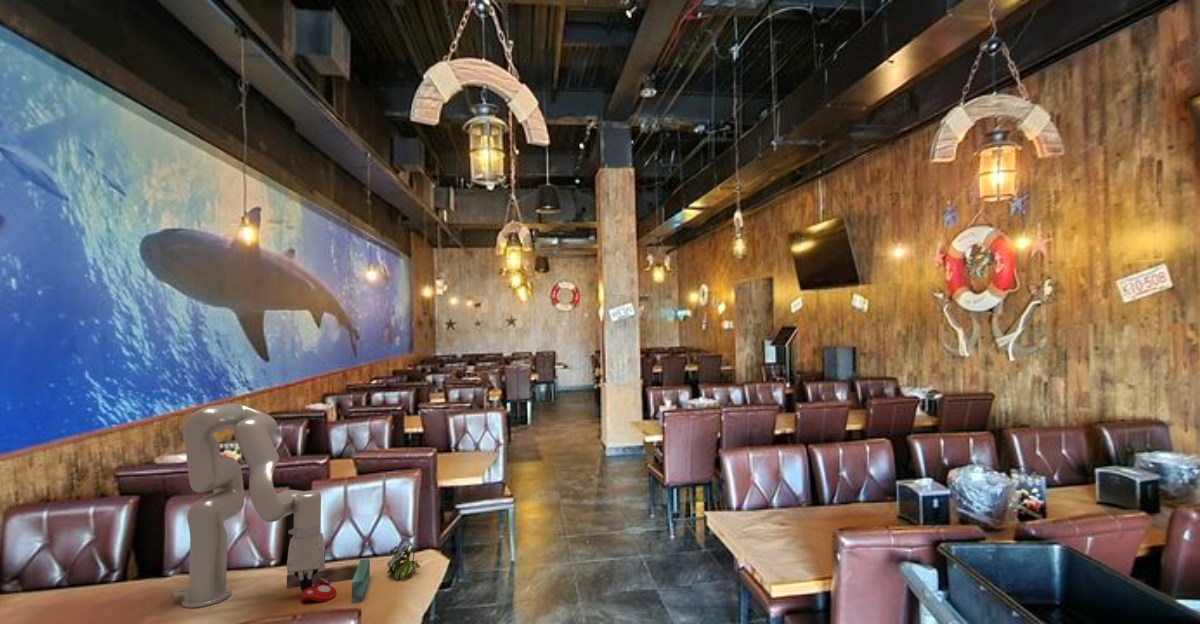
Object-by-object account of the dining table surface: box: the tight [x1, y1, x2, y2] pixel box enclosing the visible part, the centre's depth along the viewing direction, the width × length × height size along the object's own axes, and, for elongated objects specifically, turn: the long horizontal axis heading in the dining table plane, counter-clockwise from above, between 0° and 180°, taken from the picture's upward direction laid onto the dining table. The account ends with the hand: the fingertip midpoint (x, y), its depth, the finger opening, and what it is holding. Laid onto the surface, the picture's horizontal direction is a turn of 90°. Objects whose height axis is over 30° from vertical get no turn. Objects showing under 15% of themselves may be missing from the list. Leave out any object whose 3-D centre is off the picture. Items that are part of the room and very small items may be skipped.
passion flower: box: [386, 543, 421, 581], centre depth 183 cm, size 11×11×12 cm
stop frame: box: [286, 558, 371, 604], centre depth 169 cm, size 25×21×6 cm
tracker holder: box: [300, 578, 338, 603], centre depth 167 cm, size 12×4×10 cm
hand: (306, 591), depth 168 cm, fingers closed
